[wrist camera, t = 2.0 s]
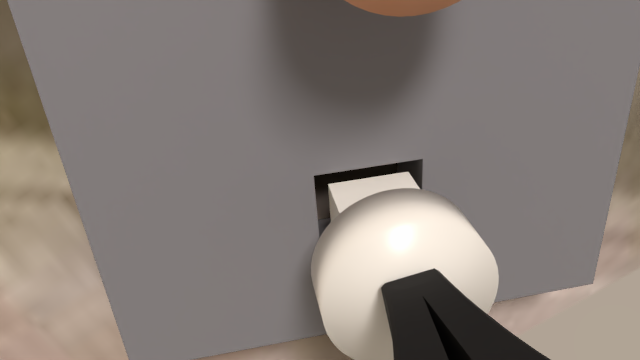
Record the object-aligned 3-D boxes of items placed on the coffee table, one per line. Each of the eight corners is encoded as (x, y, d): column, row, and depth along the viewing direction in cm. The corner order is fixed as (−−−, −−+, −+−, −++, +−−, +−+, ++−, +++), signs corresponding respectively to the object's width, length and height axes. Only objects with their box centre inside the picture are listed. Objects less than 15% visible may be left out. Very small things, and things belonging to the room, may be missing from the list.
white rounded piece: (442, 135, 16) (506, 209, 13) (437, 258, 19) (491, 348, 15) (289, 158, 16) (315, 241, 12) (304, 281, 18) (328, 381, 15)
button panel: (656, -375, 14) (742, -420, 11) (555, 242, 22) (592, 283, 20) (-66, -348, 12) (-127, -395, 9) (139, 317, 21) (132, 370, 18)
